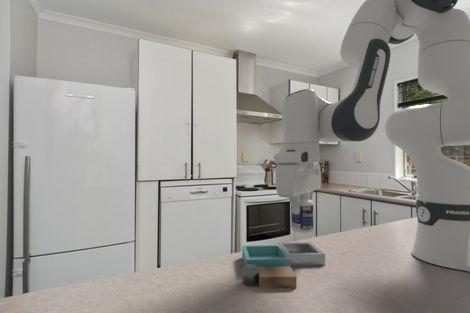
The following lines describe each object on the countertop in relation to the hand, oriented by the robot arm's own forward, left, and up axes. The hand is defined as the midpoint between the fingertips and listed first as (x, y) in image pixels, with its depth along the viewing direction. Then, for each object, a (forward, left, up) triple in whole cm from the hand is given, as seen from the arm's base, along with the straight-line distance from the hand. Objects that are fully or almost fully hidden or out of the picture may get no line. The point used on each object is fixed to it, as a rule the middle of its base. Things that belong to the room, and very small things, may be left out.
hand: (302, 211), depth 64 cm
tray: (+10, +3, -12) cm, 16 cm away
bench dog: (+15, +12, -12) cm, 22 cm away
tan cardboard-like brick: (+10, +12, -12) cm, 19 cm away
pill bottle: (0, 0, -5) cm, 5 cm away
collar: (+1, 0, -12) cm, 12 cm away
